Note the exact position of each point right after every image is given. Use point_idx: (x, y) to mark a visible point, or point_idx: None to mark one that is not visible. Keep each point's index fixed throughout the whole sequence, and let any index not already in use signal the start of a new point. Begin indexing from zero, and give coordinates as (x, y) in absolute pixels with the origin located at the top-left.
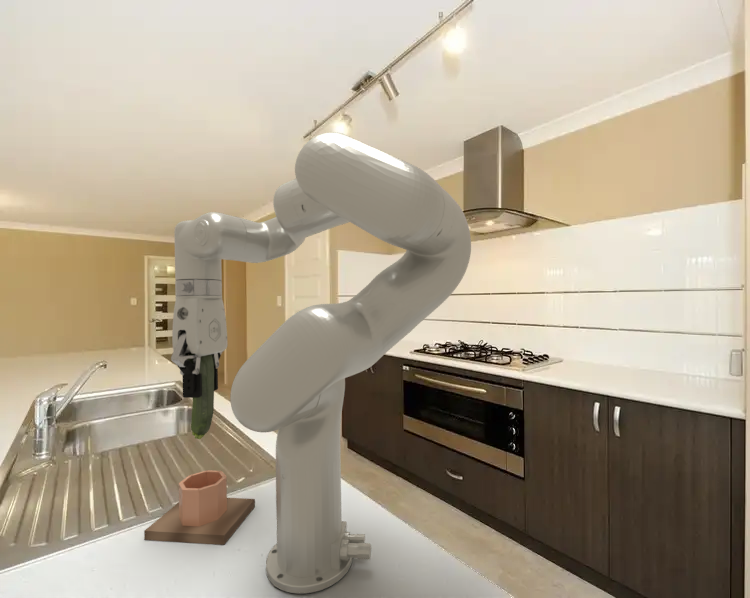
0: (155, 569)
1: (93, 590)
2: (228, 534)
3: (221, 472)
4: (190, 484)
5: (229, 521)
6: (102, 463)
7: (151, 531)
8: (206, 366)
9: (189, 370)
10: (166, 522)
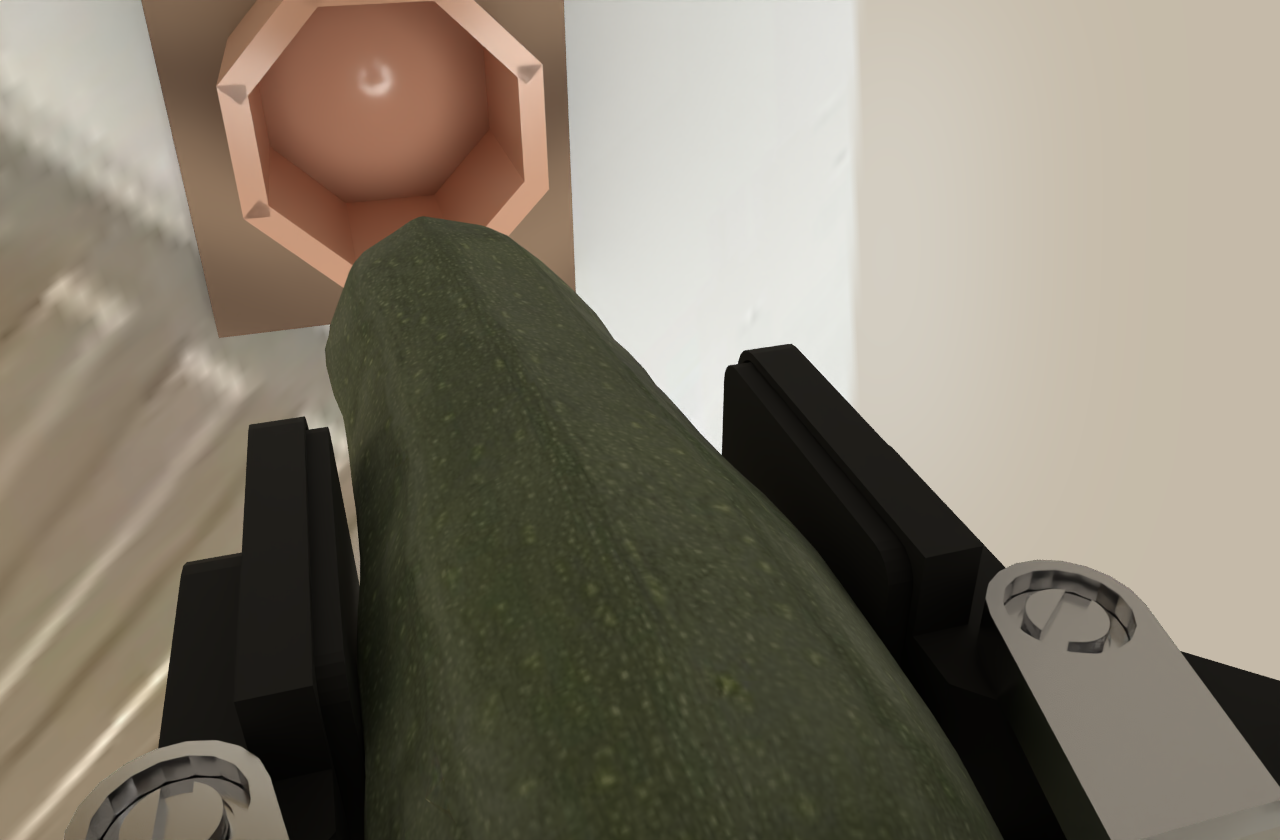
0: (740, 58)
1: (850, 216)
2: None
3: (243, 70)
4: (370, 246)
5: None
6: None
7: (572, 256)
8: (853, 658)
9: (1197, 668)
10: None
